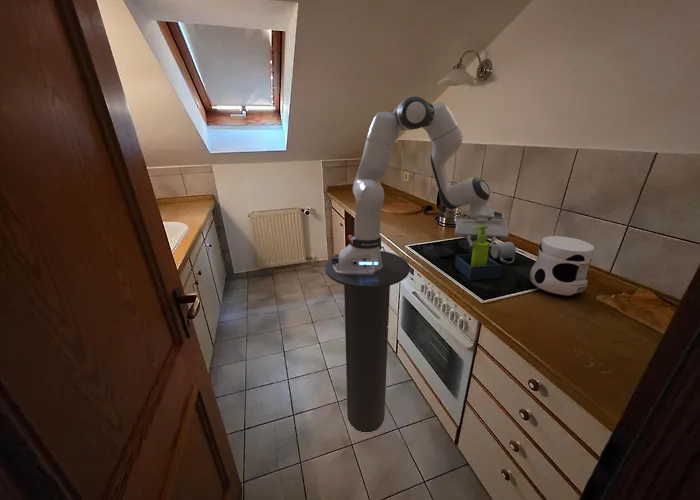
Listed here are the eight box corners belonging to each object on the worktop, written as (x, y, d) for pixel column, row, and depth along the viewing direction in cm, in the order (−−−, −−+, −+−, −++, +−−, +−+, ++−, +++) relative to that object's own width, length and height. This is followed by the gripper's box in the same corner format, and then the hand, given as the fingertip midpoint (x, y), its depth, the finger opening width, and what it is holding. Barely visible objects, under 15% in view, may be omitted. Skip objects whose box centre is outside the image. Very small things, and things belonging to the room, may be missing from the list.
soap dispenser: (465, 270, 126) (469, 225, 119) (479, 267, 127) (485, 223, 120) (473, 276, 121) (478, 229, 113) (488, 273, 122) (494, 227, 114)
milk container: (528, 273, 122) (538, 232, 115) (580, 283, 114) (594, 239, 107) (527, 292, 108) (538, 246, 101) (586, 305, 100) (602, 256, 93)
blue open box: (469, 280, 117) (471, 267, 115) (454, 266, 129) (456, 254, 127) (500, 278, 119) (502, 265, 117) (482, 264, 131) (484, 252, 129)
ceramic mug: (488, 255, 140) (491, 240, 136) (504, 254, 140) (507, 239, 137) (501, 265, 130) (504, 249, 127) (518, 264, 131) (522, 248, 128)
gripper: (455, 212, 124) (455, 242, 118) (509, 214, 119) (511, 245, 114) (453, 219, 129) (453, 248, 124) (504, 221, 125) (506, 252, 120)
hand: (481, 247), depth 119 cm, fingers closed on soap dispenser, 6 cm apart
